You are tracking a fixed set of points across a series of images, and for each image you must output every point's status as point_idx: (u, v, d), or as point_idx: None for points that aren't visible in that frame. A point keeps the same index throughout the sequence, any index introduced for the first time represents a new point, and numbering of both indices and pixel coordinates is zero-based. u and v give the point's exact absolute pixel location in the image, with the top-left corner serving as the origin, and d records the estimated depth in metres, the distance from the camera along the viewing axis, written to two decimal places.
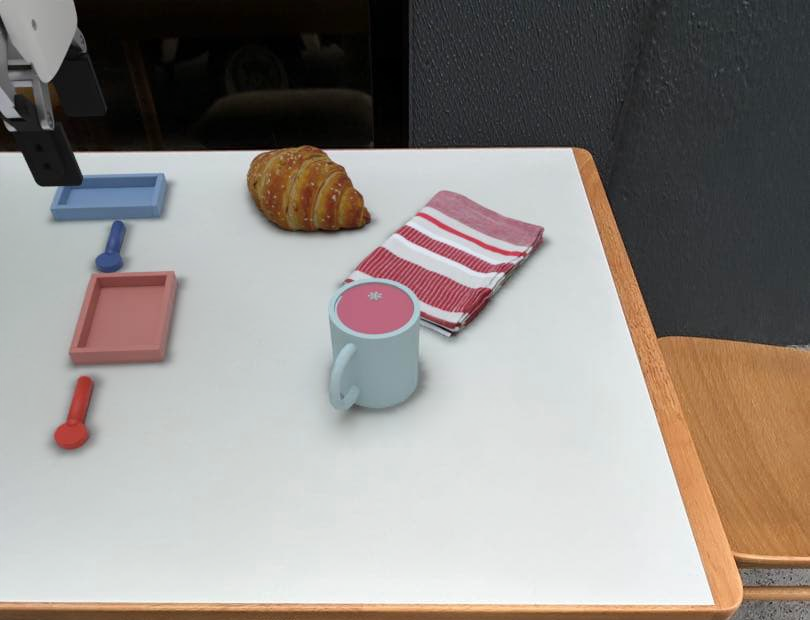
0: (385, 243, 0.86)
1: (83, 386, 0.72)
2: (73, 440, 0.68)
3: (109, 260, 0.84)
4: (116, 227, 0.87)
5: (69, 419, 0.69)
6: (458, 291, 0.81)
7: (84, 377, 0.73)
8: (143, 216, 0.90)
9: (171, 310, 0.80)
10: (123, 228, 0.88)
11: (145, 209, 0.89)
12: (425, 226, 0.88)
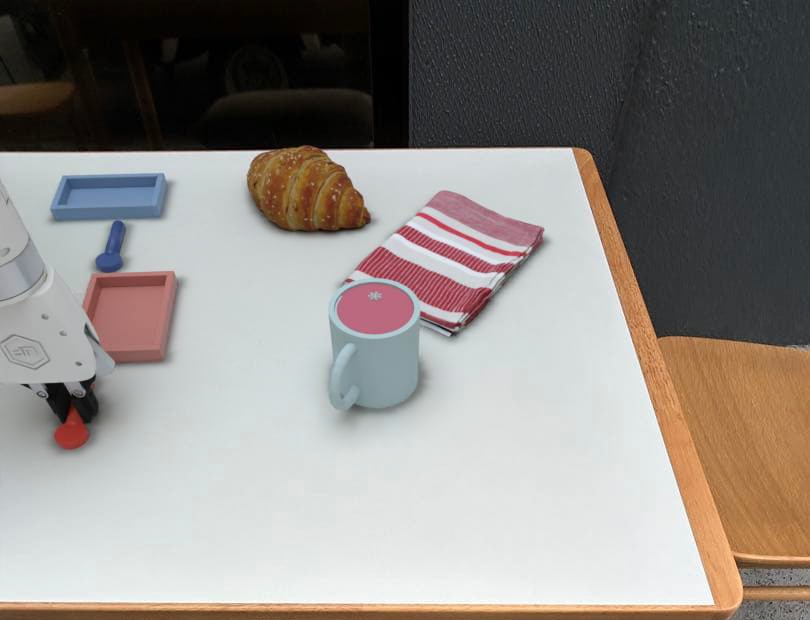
0: (385, 243, 0.86)
1: None
2: (73, 440, 0.68)
3: (109, 260, 0.84)
4: (116, 227, 0.87)
5: (69, 419, 0.69)
6: (458, 291, 0.81)
7: None
8: (143, 216, 0.90)
9: (171, 310, 0.80)
10: (123, 228, 0.88)
11: (145, 209, 0.89)
12: (425, 226, 0.88)
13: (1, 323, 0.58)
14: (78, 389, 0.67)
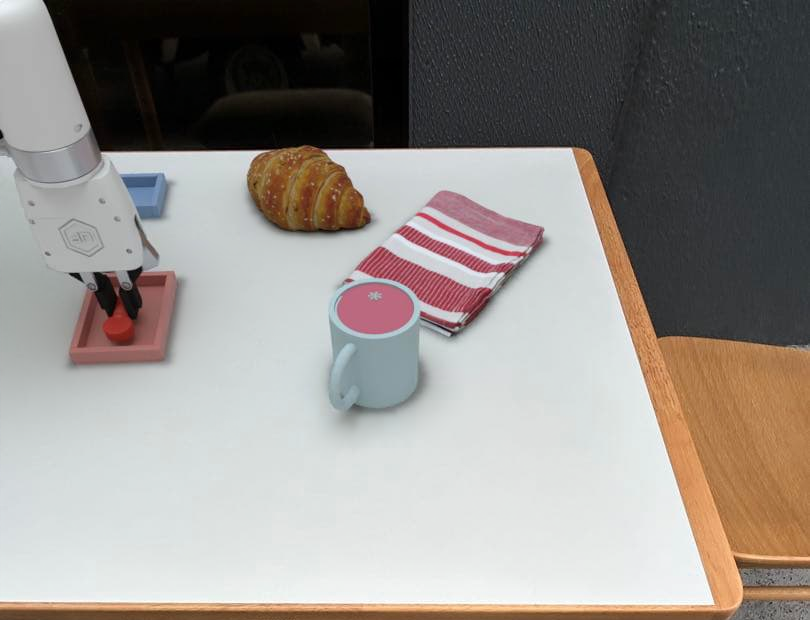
0: (385, 243, 0.86)
1: None
2: (120, 330, 0.75)
3: None
4: None
5: (116, 313, 0.76)
6: (458, 291, 0.81)
7: None
8: (143, 216, 0.90)
9: (171, 310, 0.80)
10: None
11: (145, 209, 0.89)
12: (425, 226, 0.88)
13: (63, 206, 0.64)
14: (126, 281, 0.73)
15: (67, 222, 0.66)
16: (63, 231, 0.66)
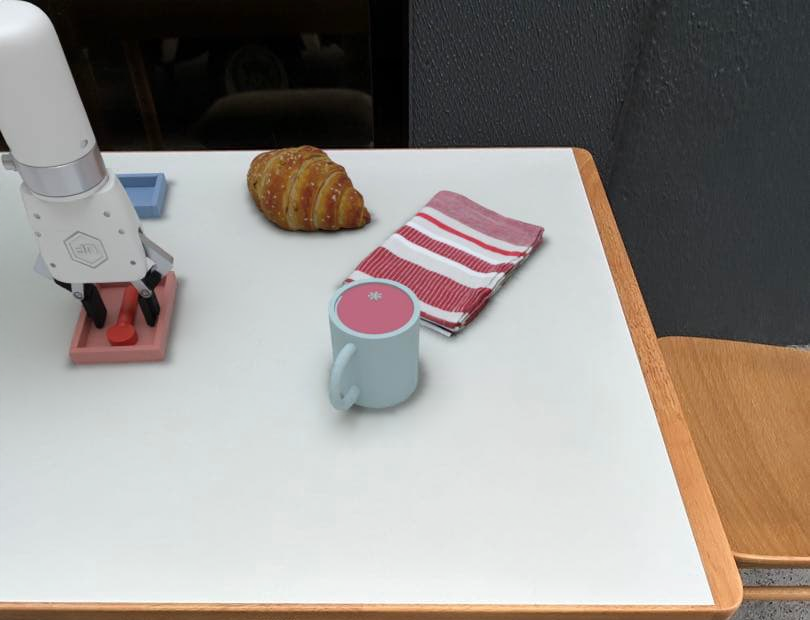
0: (385, 243, 0.86)
1: (130, 294, 0.79)
2: (124, 338, 0.76)
3: None
4: None
5: (119, 321, 0.77)
6: (458, 291, 0.81)
7: (131, 286, 0.80)
8: (143, 216, 0.90)
9: (171, 310, 0.80)
10: None
11: (145, 209, 0.89)
12: (425, 226, 0.88)
13: (68, 219, 0.65)
14: (144, 289, 0.74)
15: (72, 234, 0.67)
16: (68, 243, 0.67)
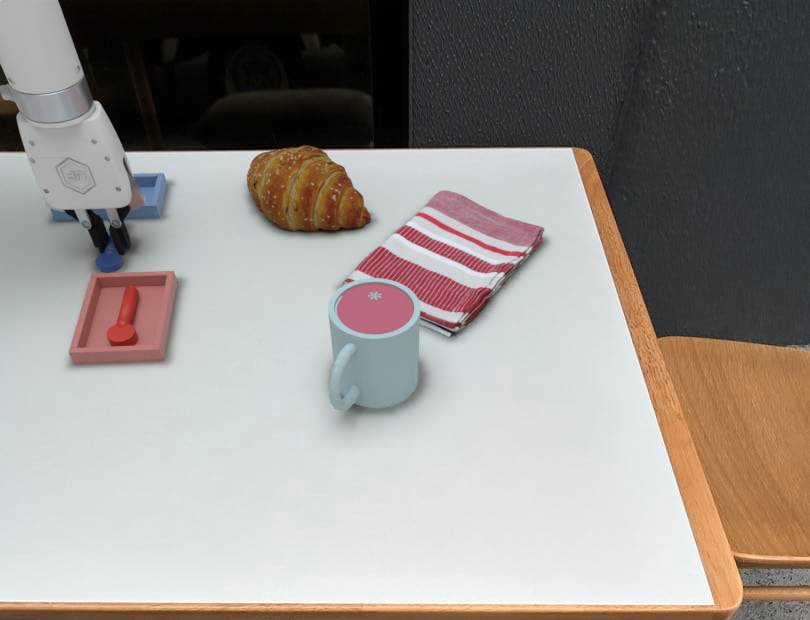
0: (385, 243, 0.86)
1: (130, 294, 0.79)
2: (124, 338, 0.76)
3: (109, 260, 0.84)
4: None
5: (119, 321, 0.77)
6: (458, 291, 0.81)
7: (131, 286, 0.80)
8: (143, 216, 0.90)
9: (171, 310, 0.80)
10: None
11: (145, 209, 0.89)
12: (425, 226, 0.88)
13: (59, 146, 0.73)
14: (115, 219, 0.82)
15: (63, 161, 0.74)
16: (60, 169, 0.75)
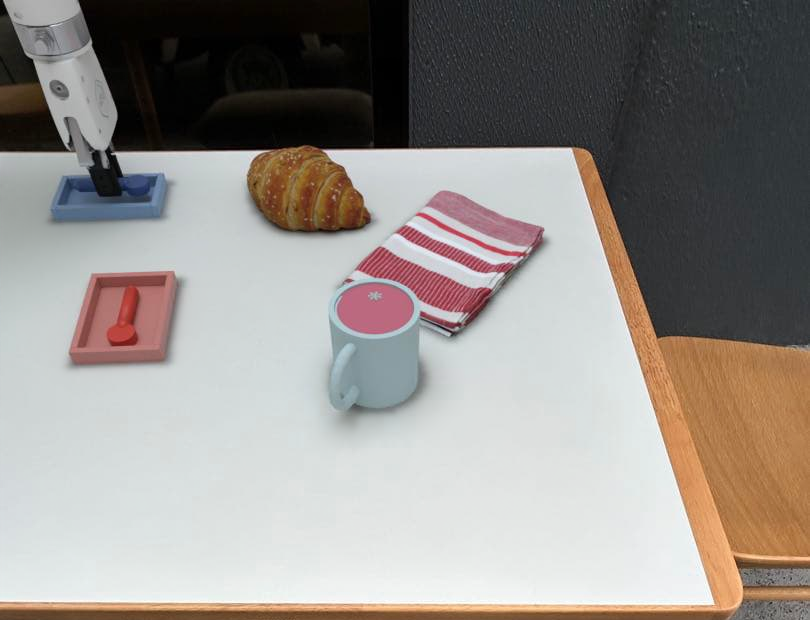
0: (385, 243, 0.86)
1: (130, 294, 0.79)
2: (124, 338, 0.76)
3: (137, 180, 0.90)
4: (88, 179, 0.90)
5: (119, 321, 0.77)
6: (458, 291, 0.81)
7: (131, 286, 0.80)
8: (143, 216, 0.90)
9: (171, 310, 0.80)
10: None
11: (145, 209, 0.89)
12: (425, 226, 0.88)
13: (90, 70, 0.78)
14: (111, 144, 0.88)
15: (95, 86, 0.80)
16: (97, 98, 0.80)
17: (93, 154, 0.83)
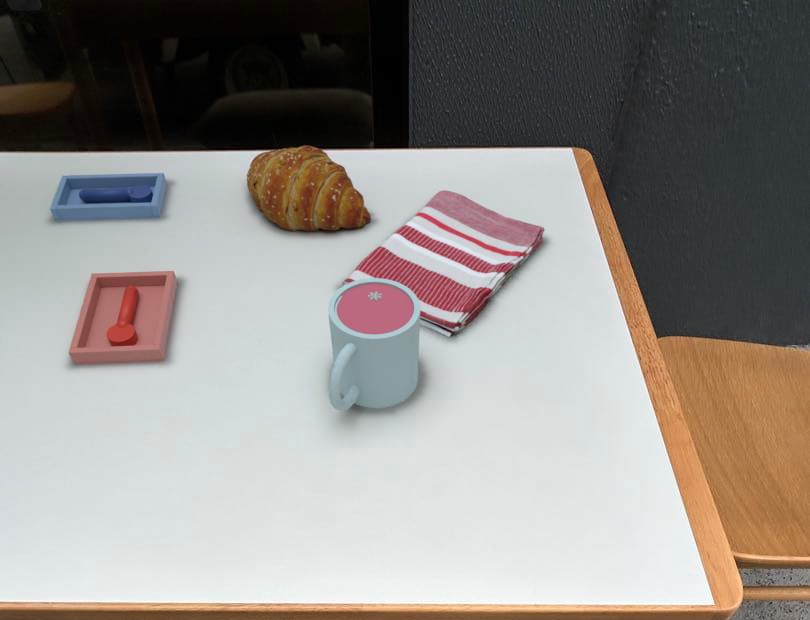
0: (385, 243, 0.86)
1: (130, 294, 0.79)
2: (124, 338, 0.76)
3: (141, 190, 0.91)
4: (93, 189, 0.91)
5: (119, 321, 0.77)
6: (458, 291, 0.81)
7: (131, 286, 0.80)
8: (143, 216, 0.90)
9: (171, 310, 0.80)
10: None
11: (145, 209, 0.89)
12: (425, 226, 0.88)
13: None
14: None
15: None
16: None
17: None
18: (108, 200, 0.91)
